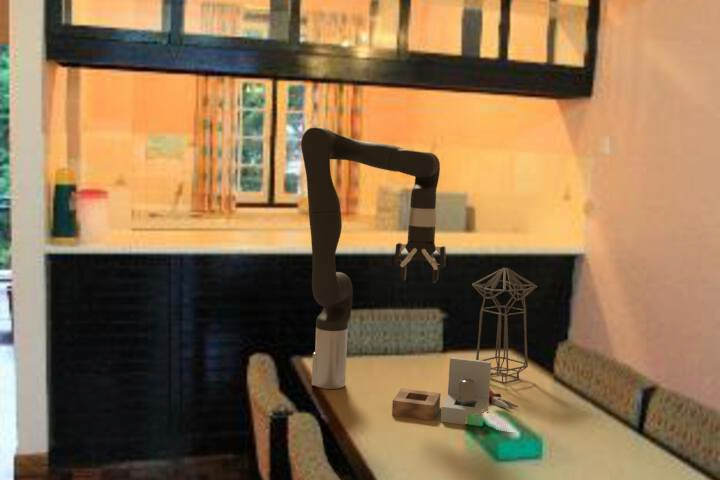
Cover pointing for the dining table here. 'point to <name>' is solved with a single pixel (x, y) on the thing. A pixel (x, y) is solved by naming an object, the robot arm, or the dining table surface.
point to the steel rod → (465, 392)
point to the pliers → (499, 400)
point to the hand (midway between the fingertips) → (418, 281)
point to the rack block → (481, 378)
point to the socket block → (416, 404)
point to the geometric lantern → (493, 285)
